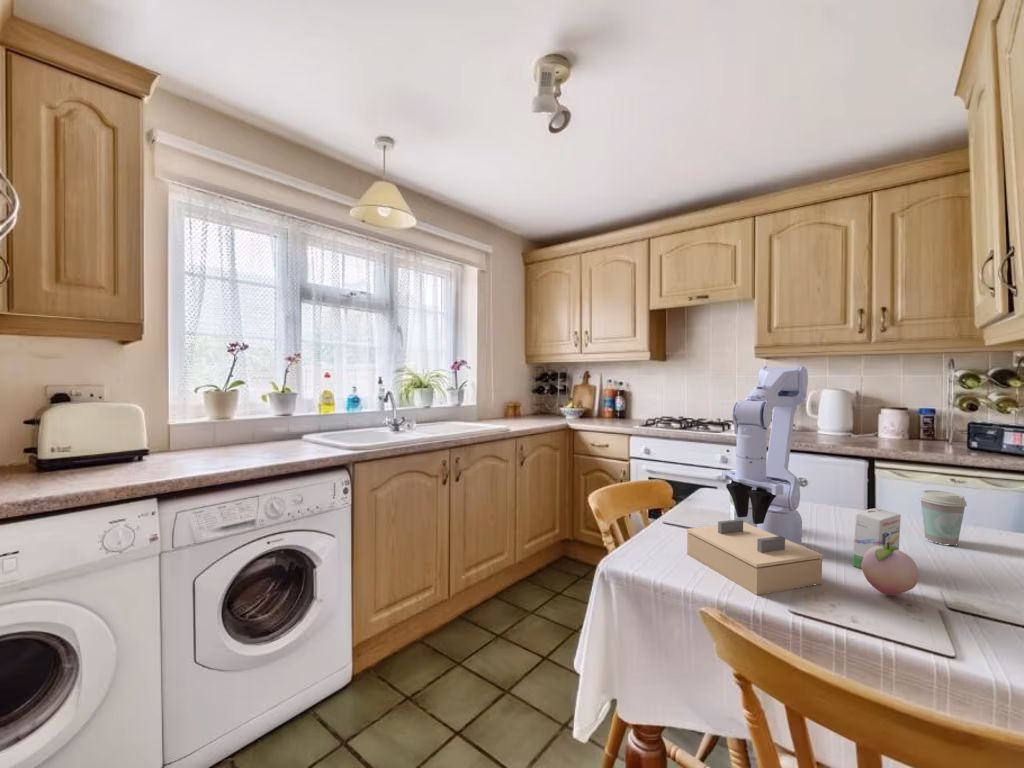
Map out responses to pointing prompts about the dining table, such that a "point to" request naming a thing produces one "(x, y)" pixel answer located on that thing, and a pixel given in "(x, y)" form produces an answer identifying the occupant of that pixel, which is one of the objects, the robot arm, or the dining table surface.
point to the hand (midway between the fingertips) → (750, 519)
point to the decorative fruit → (889, 570)
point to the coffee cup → (942, 515)
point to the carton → (755, 569)
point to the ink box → (874, 531)
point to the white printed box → (745, 519)
